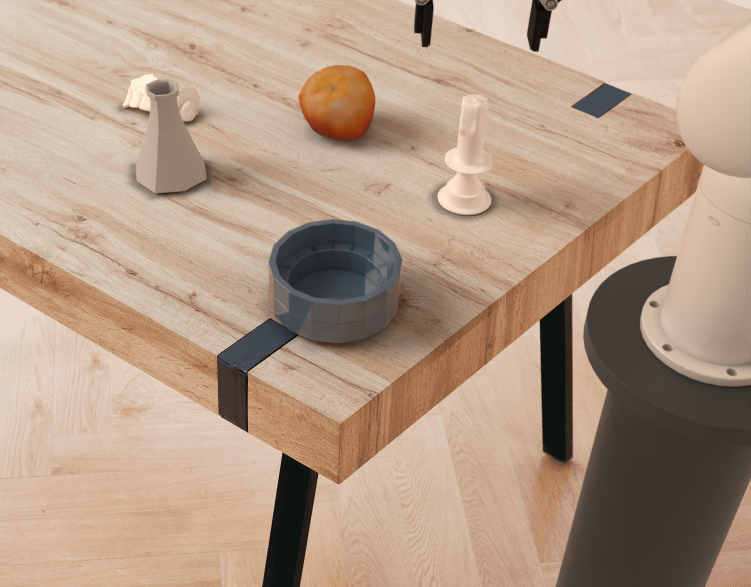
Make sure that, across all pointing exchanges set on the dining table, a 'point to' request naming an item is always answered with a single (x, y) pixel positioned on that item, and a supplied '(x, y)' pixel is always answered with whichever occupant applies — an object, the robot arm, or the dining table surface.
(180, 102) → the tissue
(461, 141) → the candle
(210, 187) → the dining table surface
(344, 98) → the fruit
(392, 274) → the bowl
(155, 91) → the flask
